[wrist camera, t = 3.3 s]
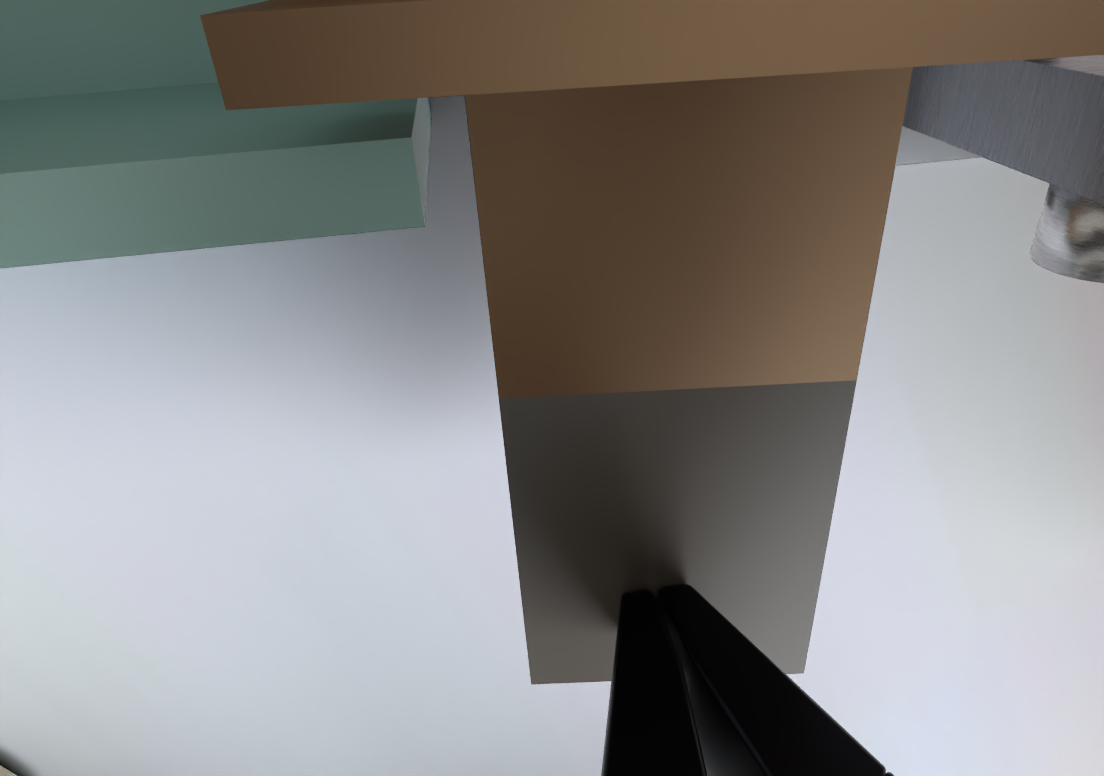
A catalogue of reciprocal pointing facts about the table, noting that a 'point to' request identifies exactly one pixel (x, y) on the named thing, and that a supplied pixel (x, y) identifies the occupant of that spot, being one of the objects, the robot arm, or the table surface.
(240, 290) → the table surface
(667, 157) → the lever
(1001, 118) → the fulcrum
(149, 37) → the bin
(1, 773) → the travel mug
